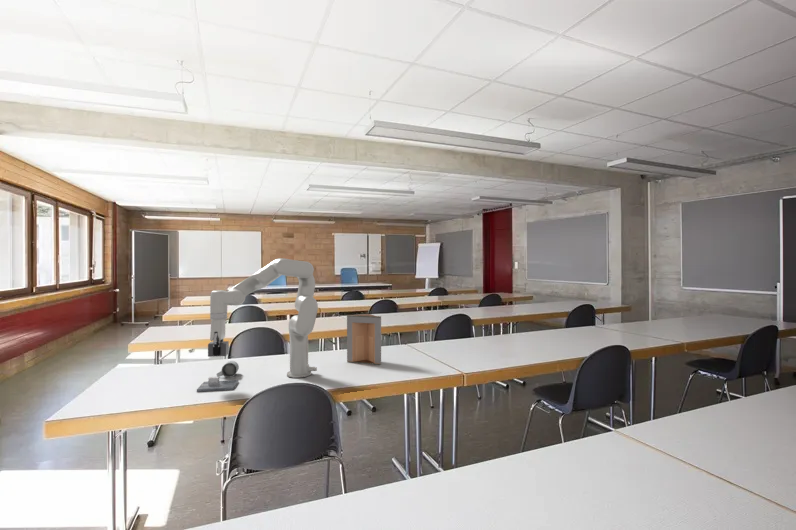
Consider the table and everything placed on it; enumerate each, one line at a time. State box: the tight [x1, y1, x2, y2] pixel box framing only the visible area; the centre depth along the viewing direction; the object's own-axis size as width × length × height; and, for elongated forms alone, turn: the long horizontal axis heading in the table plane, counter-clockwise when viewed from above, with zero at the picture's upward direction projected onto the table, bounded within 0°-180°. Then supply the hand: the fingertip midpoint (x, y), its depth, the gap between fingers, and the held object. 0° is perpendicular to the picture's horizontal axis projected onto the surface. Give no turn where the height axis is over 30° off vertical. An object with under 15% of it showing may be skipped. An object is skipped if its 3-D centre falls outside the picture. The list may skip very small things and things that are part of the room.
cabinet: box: [346, 313, 382, 366], centre depth 244 cm, size 21×10×28 cm, turn 73°
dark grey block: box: [207, 340, 230, 357], centre depth 197 cm, size 8×6×6 cm
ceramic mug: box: [216, 360, 240, 379], centre depth 216 cm, size 11×8×8 cm
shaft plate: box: [196, 376, 239, 393], centre depth 197 cm, size 16×12×5 cm
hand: (218, 353), depth 197 cm, fingers closed on dark grey block, 5 cm apart
